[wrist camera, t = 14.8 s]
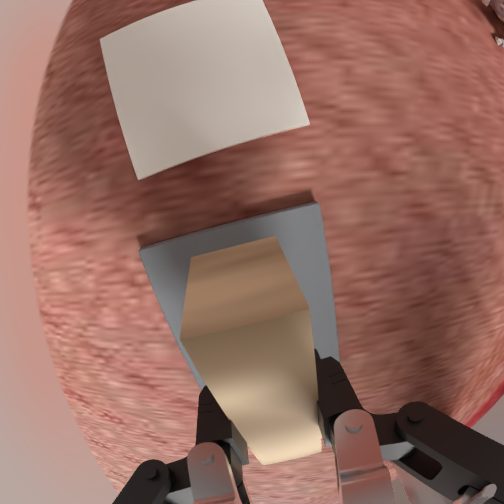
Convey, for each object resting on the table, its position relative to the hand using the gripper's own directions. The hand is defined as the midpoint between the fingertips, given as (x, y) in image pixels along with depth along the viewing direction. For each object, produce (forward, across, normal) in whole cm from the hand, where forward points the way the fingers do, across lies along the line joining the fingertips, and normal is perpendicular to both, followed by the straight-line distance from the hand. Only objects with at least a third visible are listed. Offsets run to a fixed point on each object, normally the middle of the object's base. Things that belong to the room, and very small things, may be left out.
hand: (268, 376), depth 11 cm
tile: (+4, 0, -9) cm, 10 cm away
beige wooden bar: (+2, 0, +3) cm, 3 cm away
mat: (+5, 0, +1) cm, 5 cm away
